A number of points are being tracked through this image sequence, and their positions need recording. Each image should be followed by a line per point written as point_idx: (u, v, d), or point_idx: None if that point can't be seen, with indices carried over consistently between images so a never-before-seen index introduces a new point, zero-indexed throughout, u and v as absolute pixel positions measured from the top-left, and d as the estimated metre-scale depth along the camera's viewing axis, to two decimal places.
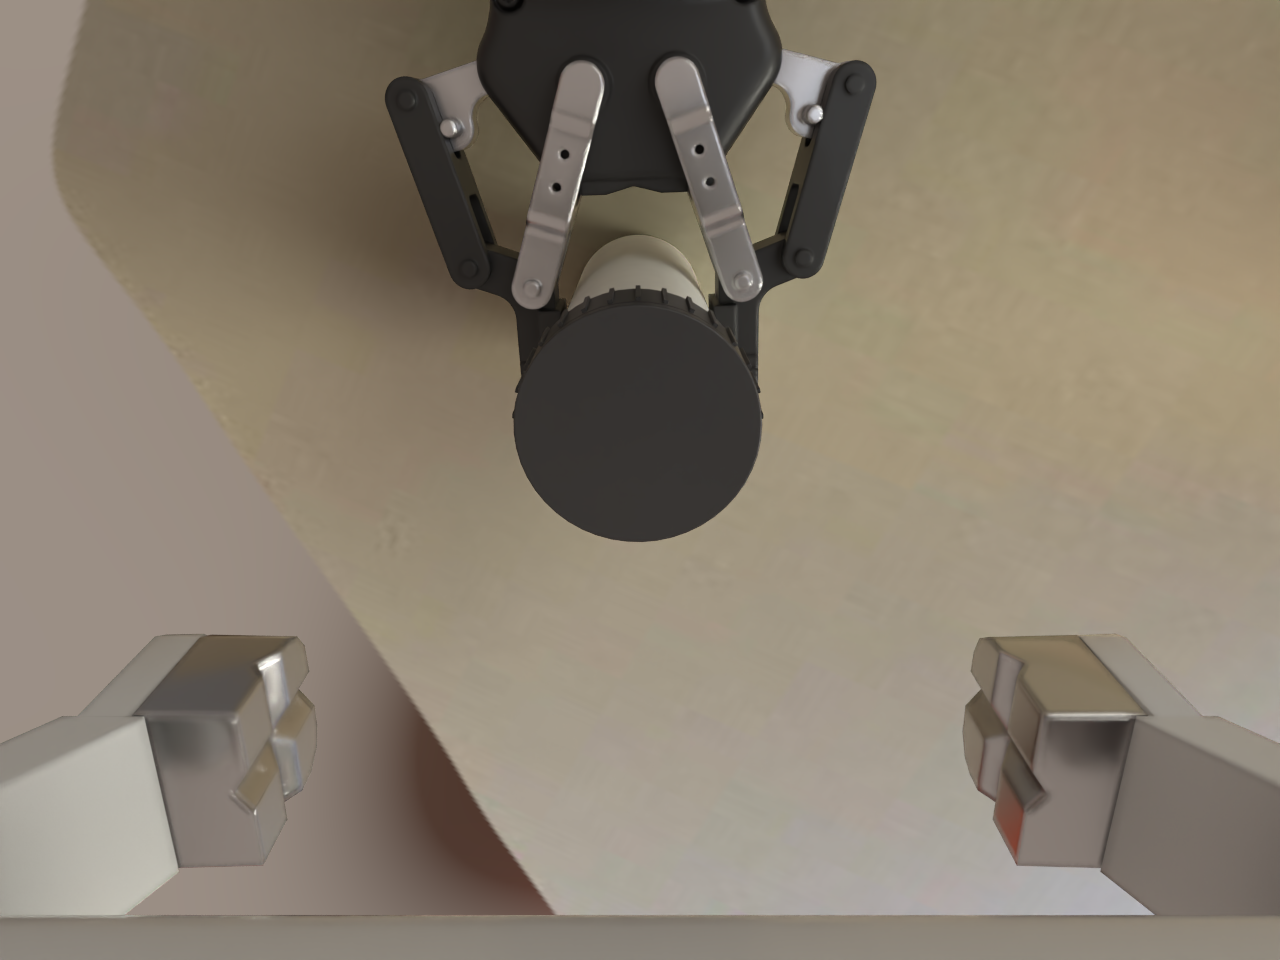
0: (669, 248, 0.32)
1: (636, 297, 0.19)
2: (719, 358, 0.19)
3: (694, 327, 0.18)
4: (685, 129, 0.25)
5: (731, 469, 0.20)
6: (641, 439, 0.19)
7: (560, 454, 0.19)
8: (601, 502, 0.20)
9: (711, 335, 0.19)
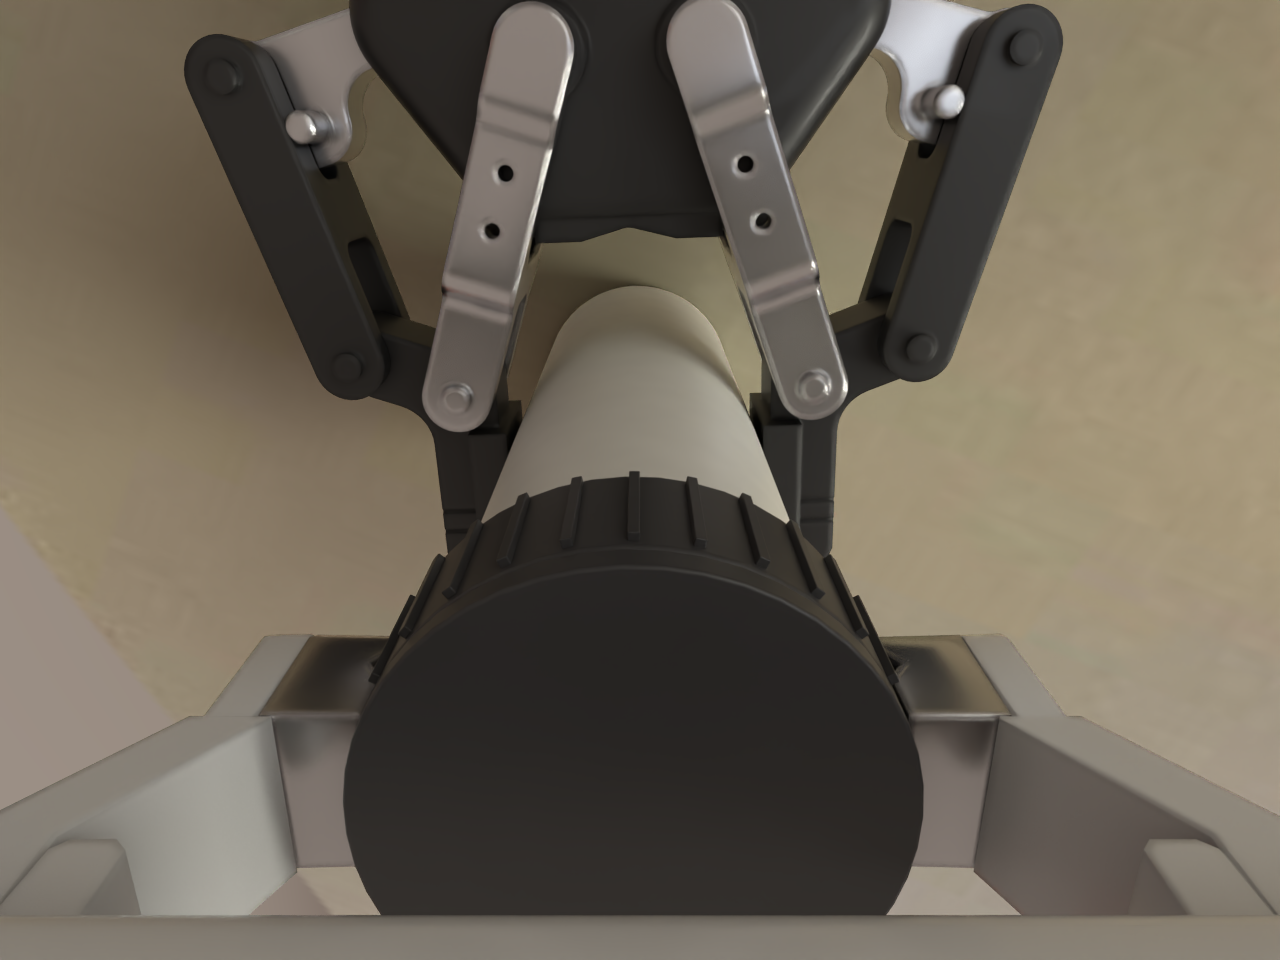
0: (684, 310, 0.21)
1: (629, 533, 0.08)
2: (831, 683, 0.08)
3: (773, 616, 0.07)
4: (720, 129, 0.14)
5: (847, 902, 0.09)
6: (642, 847, 0.08)
7: (455, 876, 0.08)
8: None
9: (813, 632, 0.08)
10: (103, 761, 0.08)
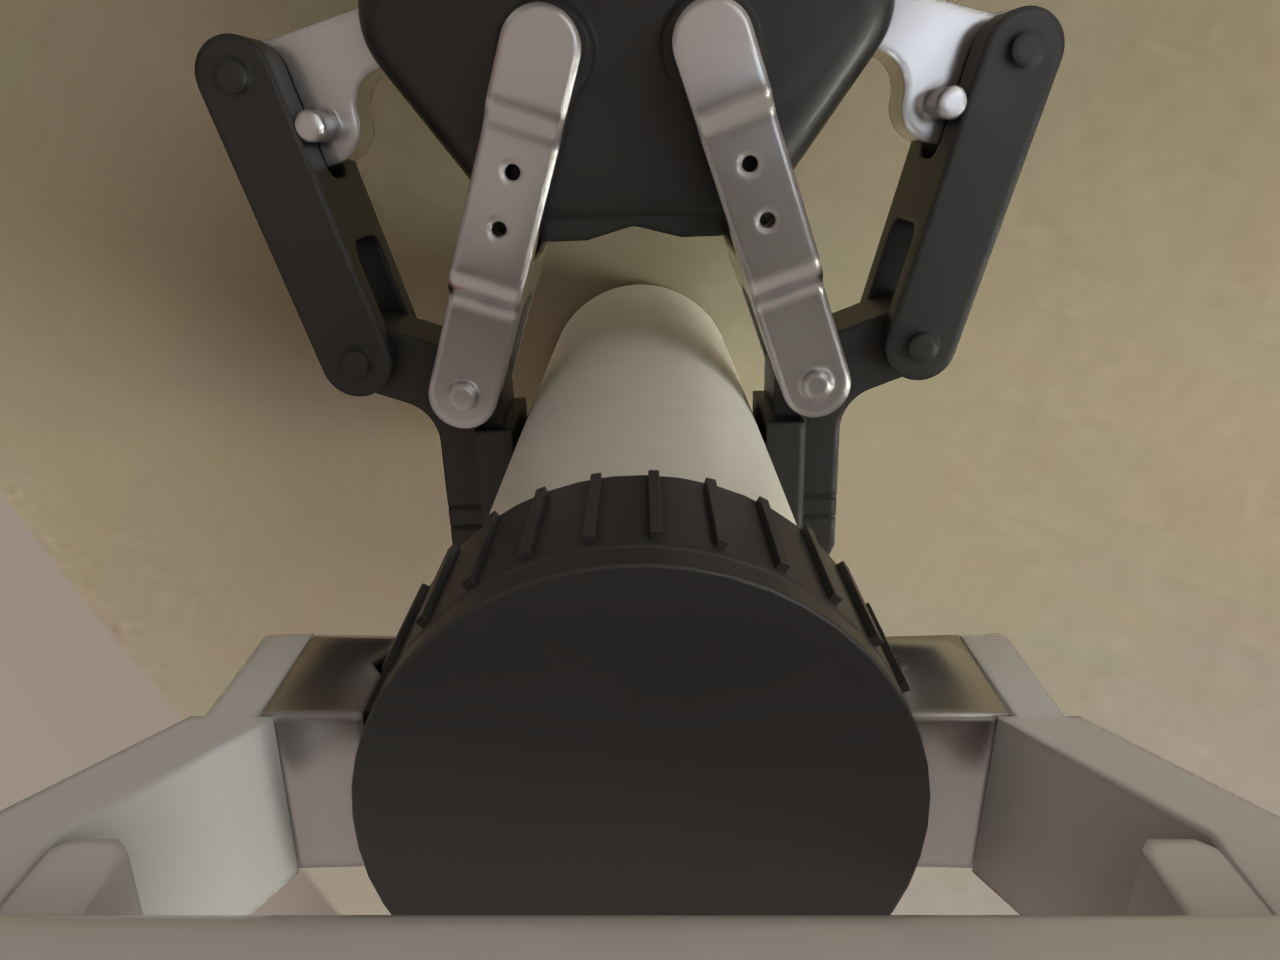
0: (687, 308, 0.21)
1: (365, 715, 0.08)
2: (528, 624, 0.08)
3: (437, 656, 0.08)
4: (725, 128, 0.14)
5: (817, 668, 0.08)
6: (666, 824, 0.08)
7: None
8: None
9: (469, 624, 0.08)
10: (104, 761, 0.08)
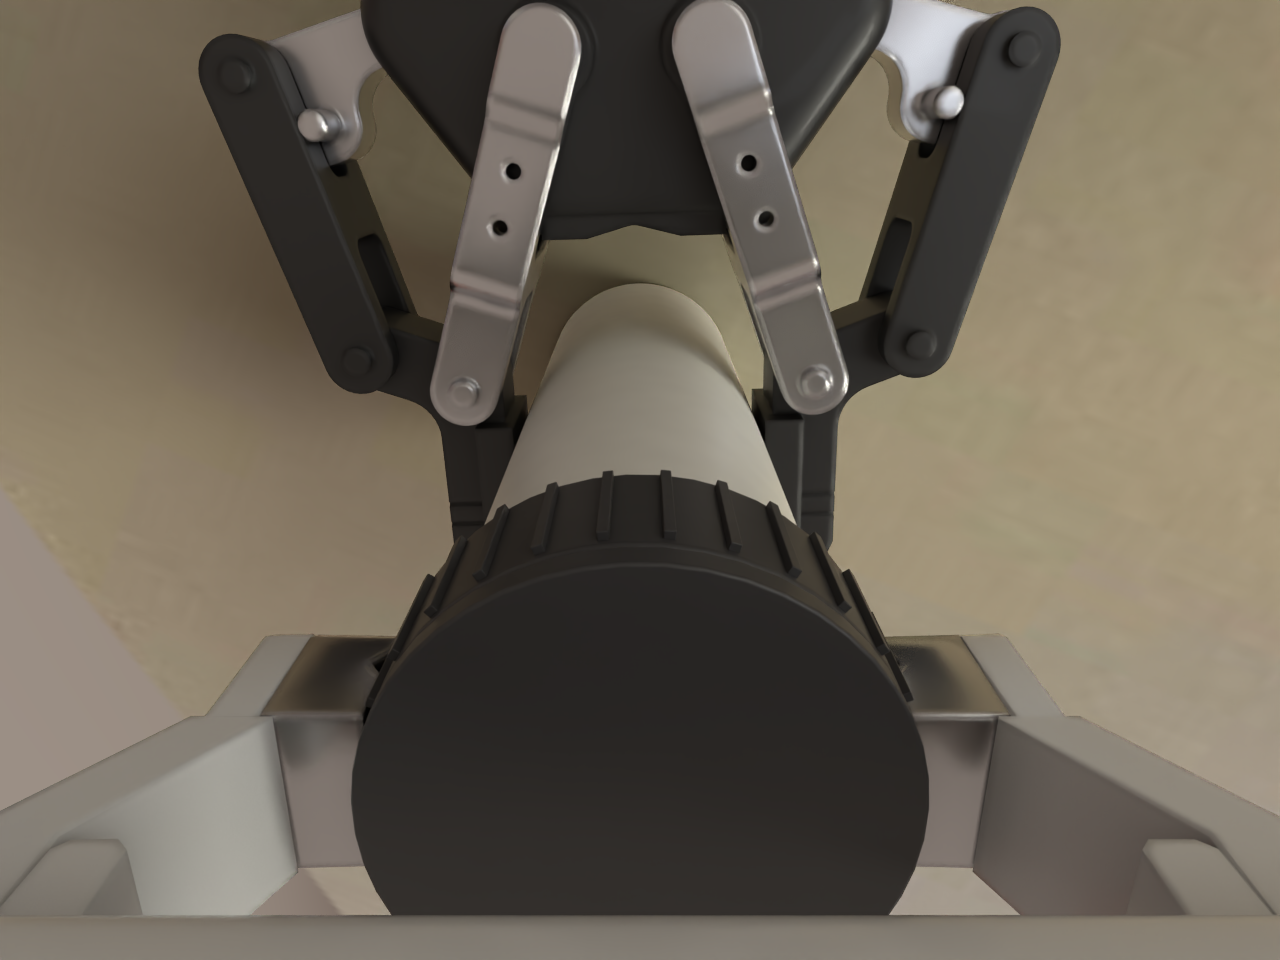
0: (687, 307, 0.21)
1: None
2: (394, 844, 0.08)
3: (407, 914, 0.09)
4: (724, 128, 0.14)
5: (511, 637, 0.08)
6: (647, 804, 0.08)
7: (818, 869, 0.08)
8: (826, 744, 0.08)
9: (385, 882, 0.09)
10: (105, 761, 0.08)
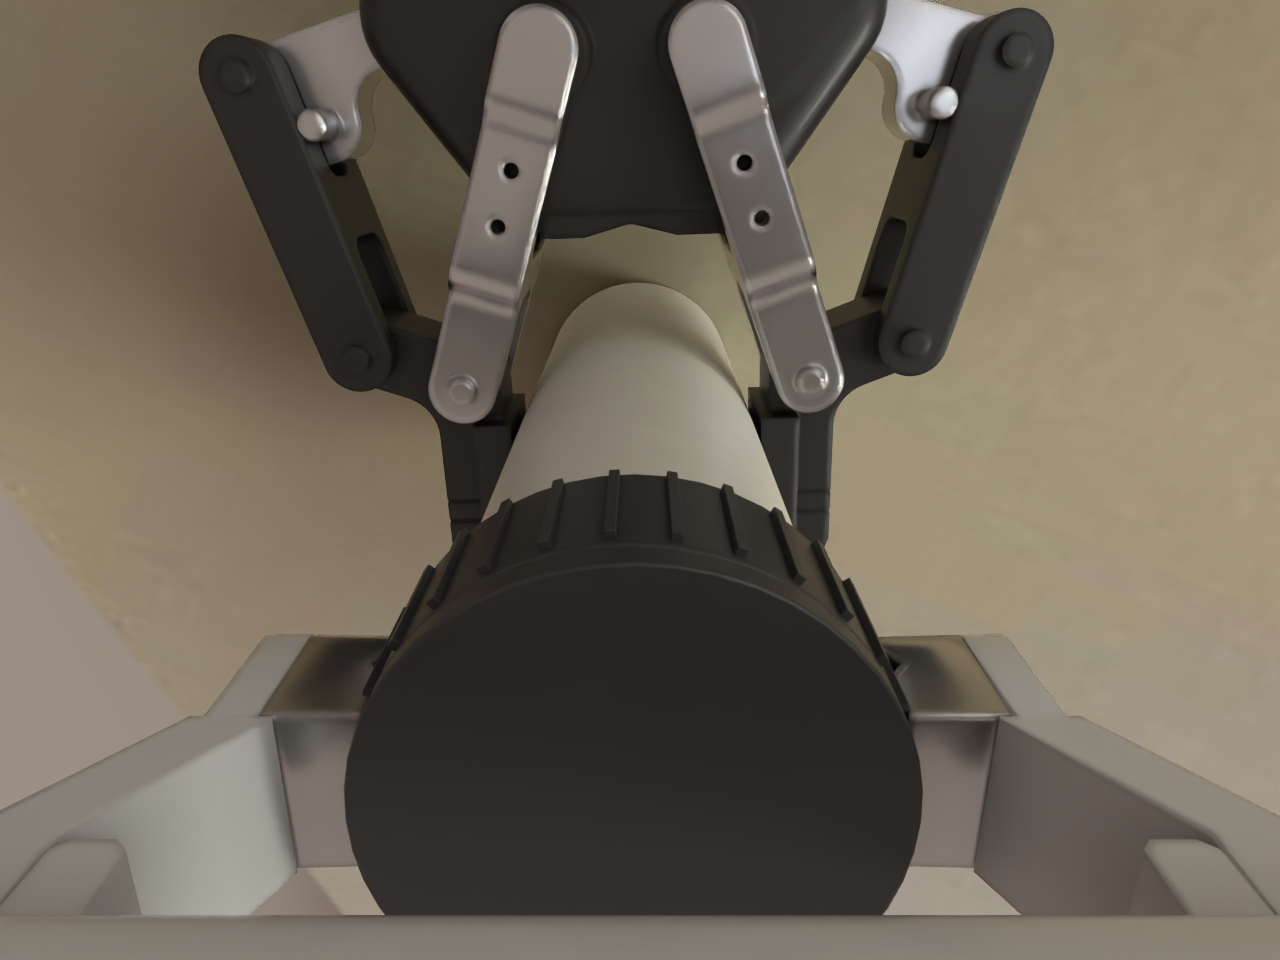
0: (684, 306, 0.22)
1: None
2: None
3: None
4: (720, 128, 0.14)
5: (399, 858, 0.08)
6: (612, 812, 0.08)
7: (752, 691, 0.08)
8: (594, 650, 0.08)
9: None
10: (104, 761, 0.08)
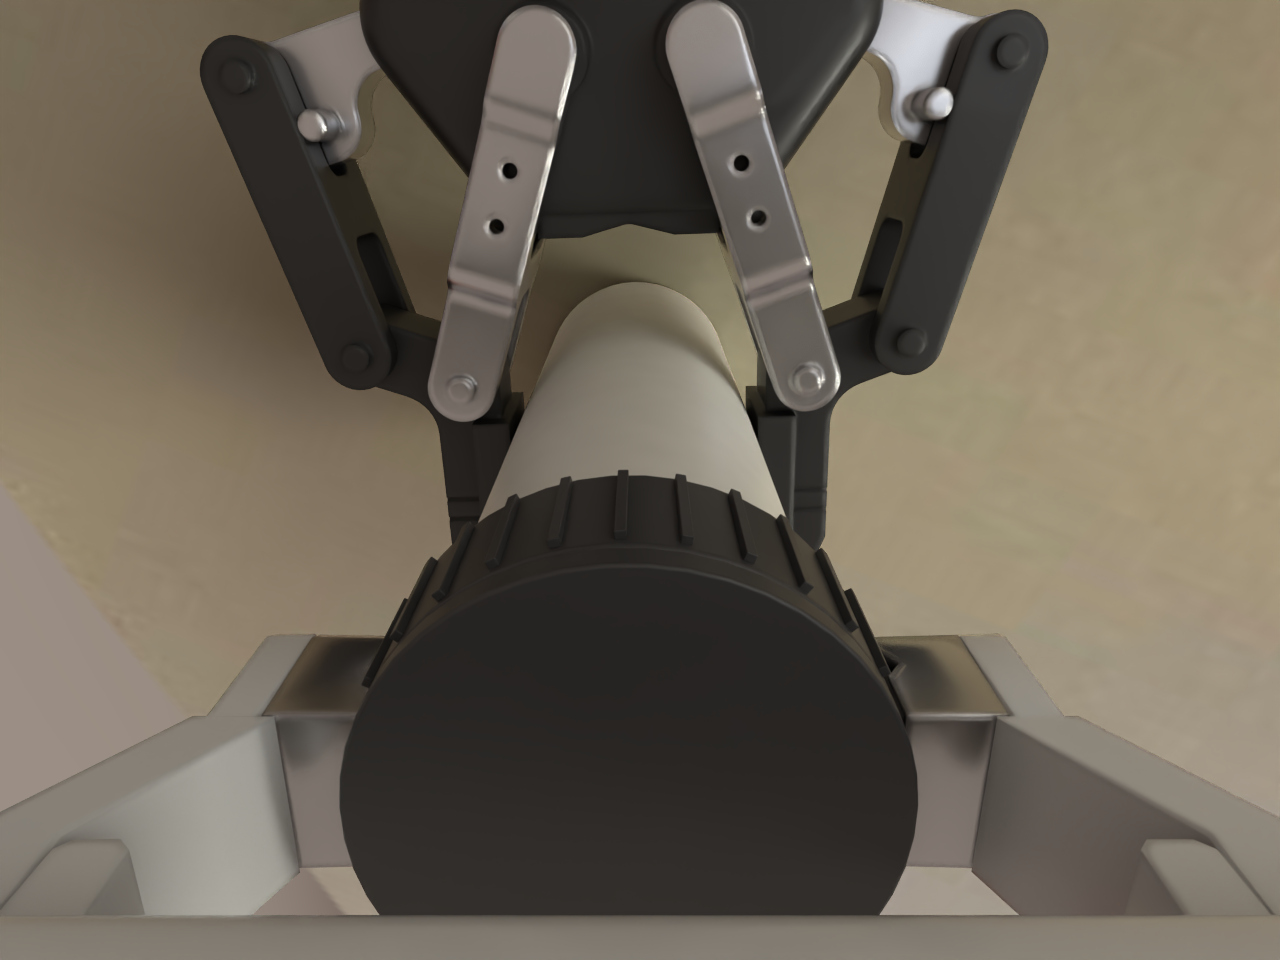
0: (683, 305, 0.22)
1: None
2: None
3: (889, 866, 0.08)
4: (717, 128, 0.14)
5: None
6: (608, 837, 0.08)
7: (508, 692, 0.08)
8: (425, 801, 0.08)
9: (878, 895, 0.09)
10: (106, 761, 0.08)
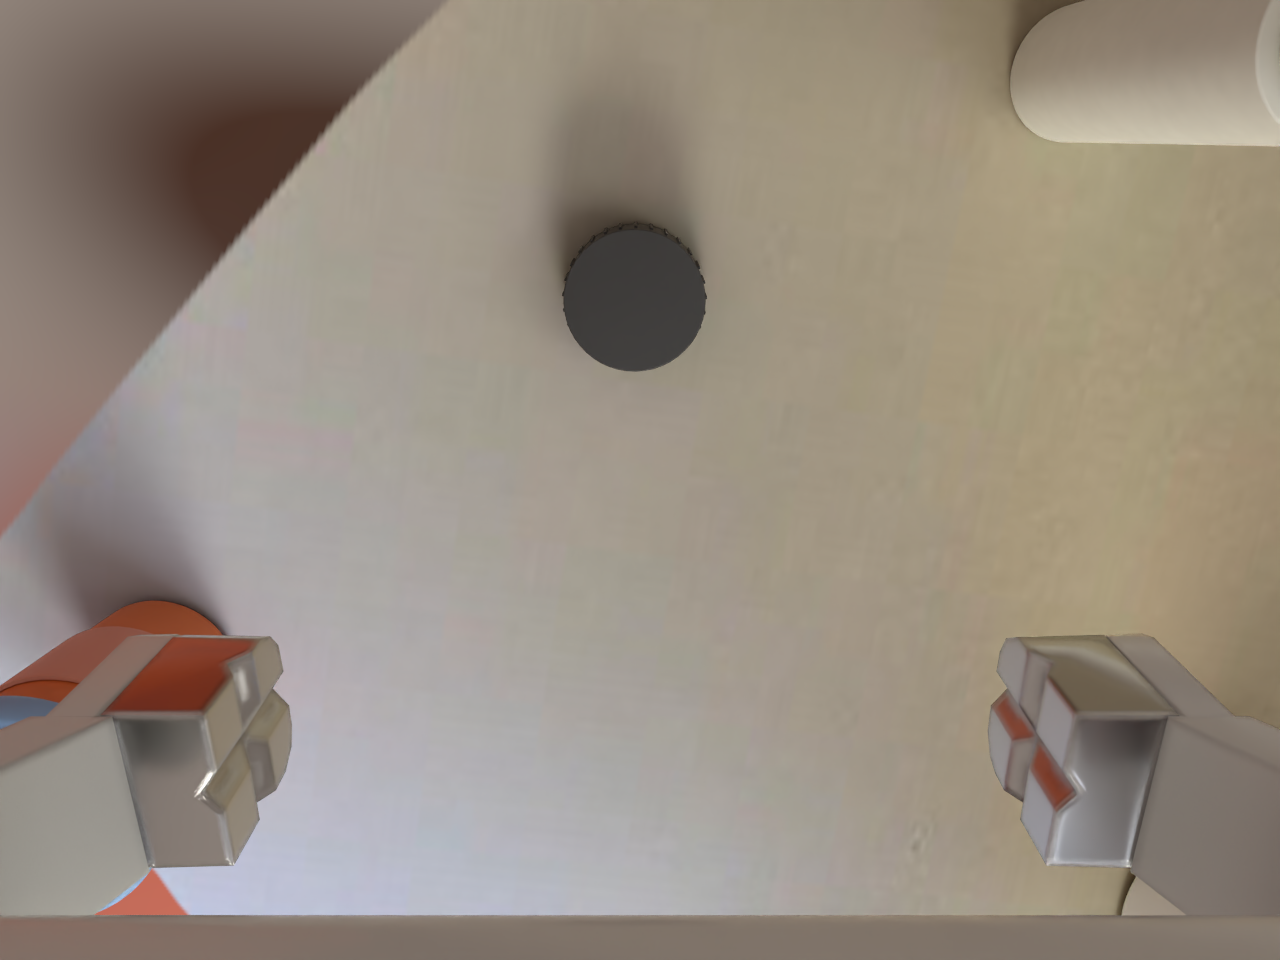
0: None
1: (635, 226, 0.33)
2: (681, 261, 0.33)
3: (667, 242, 0.33)
4: None
5: (687, 327, 0.34)
6: (636, 308, 0.34)
7: (589, 316, 0.34)
8: (612, 346, 0.34)
9: (676, 247, 0.33)
10: None
